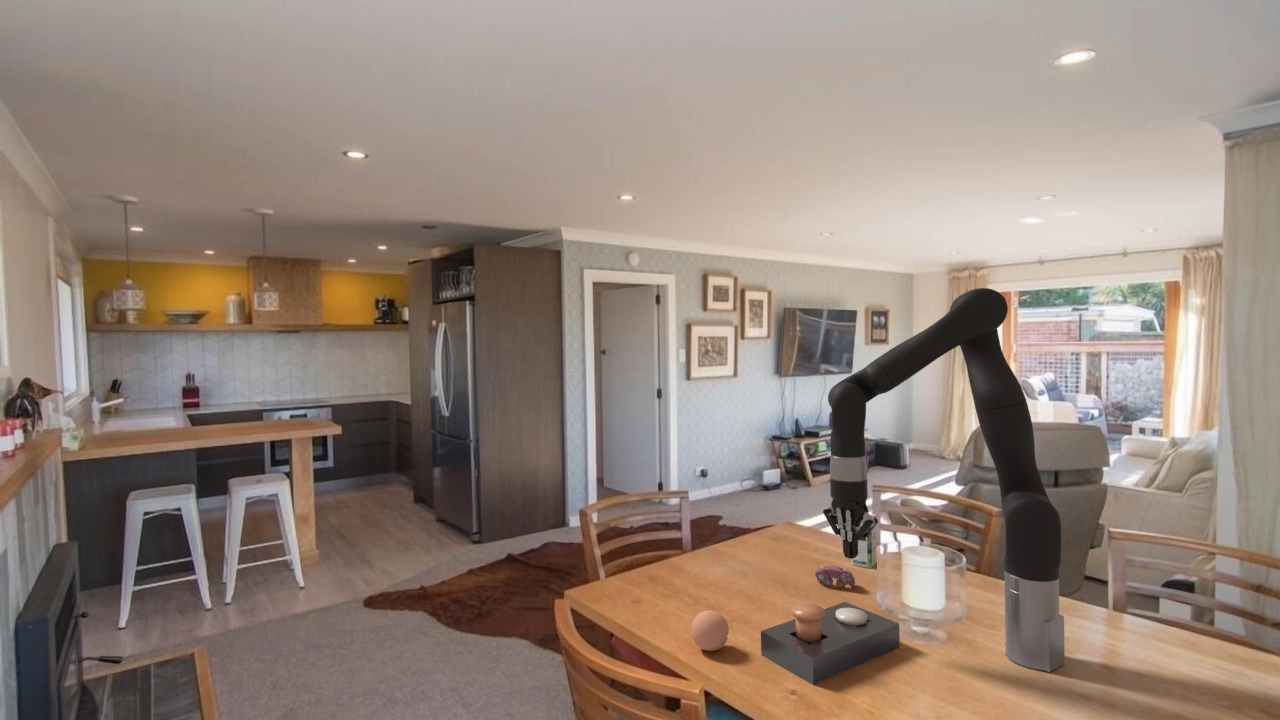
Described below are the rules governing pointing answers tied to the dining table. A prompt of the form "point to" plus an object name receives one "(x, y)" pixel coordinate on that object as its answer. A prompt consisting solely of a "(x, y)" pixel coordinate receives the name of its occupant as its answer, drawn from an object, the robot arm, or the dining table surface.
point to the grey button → (851, 616)
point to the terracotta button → (808, 621)
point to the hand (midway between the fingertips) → (850, 557)
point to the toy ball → (710, 630)
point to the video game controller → (835, 576)
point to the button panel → (830, 645)
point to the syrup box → (867, 549)
